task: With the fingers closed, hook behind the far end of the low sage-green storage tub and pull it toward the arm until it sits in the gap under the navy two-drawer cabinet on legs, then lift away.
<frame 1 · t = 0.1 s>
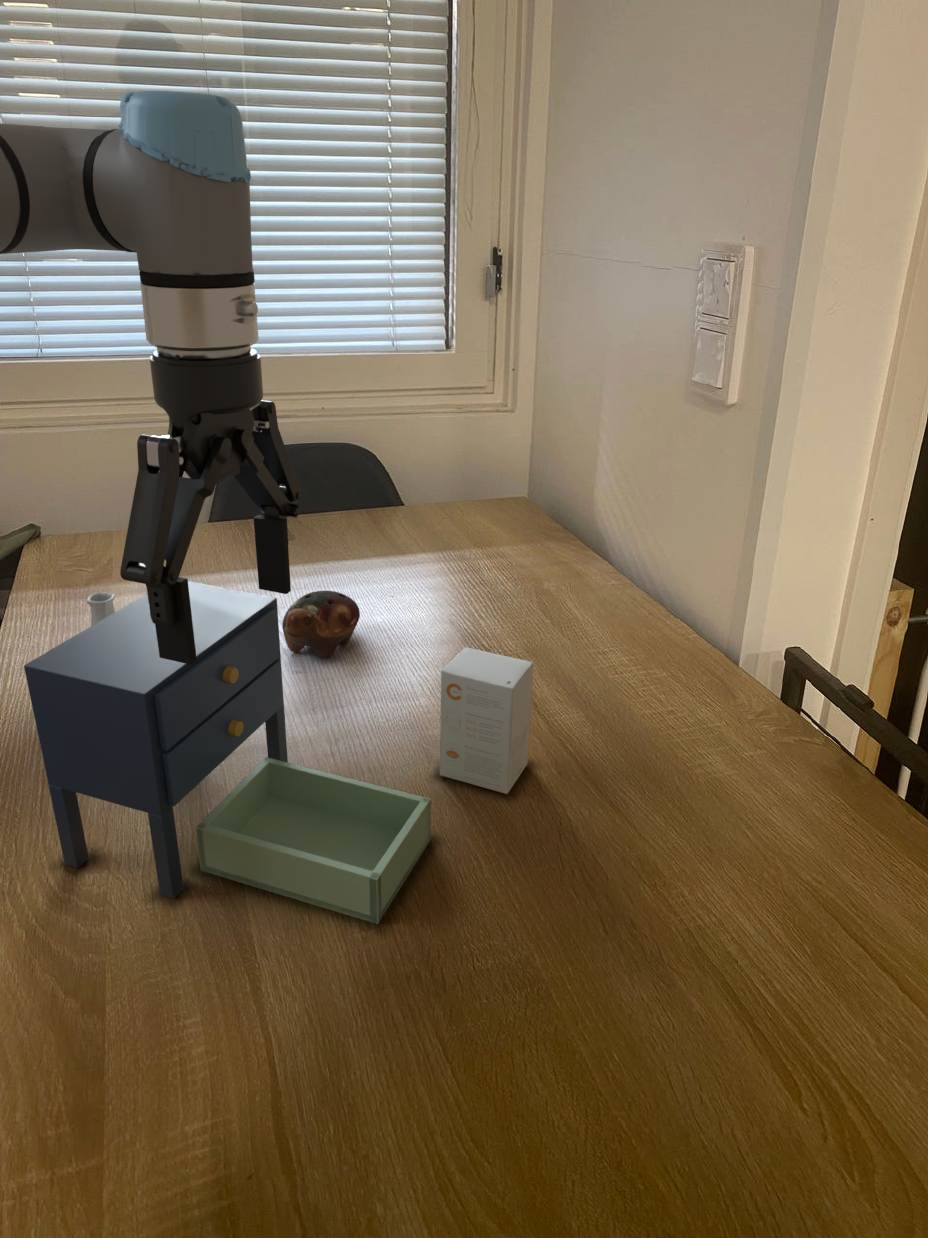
hand: (230, 622, 73), 26 cm above the table, tool pointing down, fingers open, 13 cm apart
storage tub: (318, 855, 86), on the table
brown ceramic figurine: (322, 647, 125), on the table
flask: (112, 668, 118), on the table
drawer cabinet: (185, 817, 91), on the table
small box: (483, 772, 99), on the table
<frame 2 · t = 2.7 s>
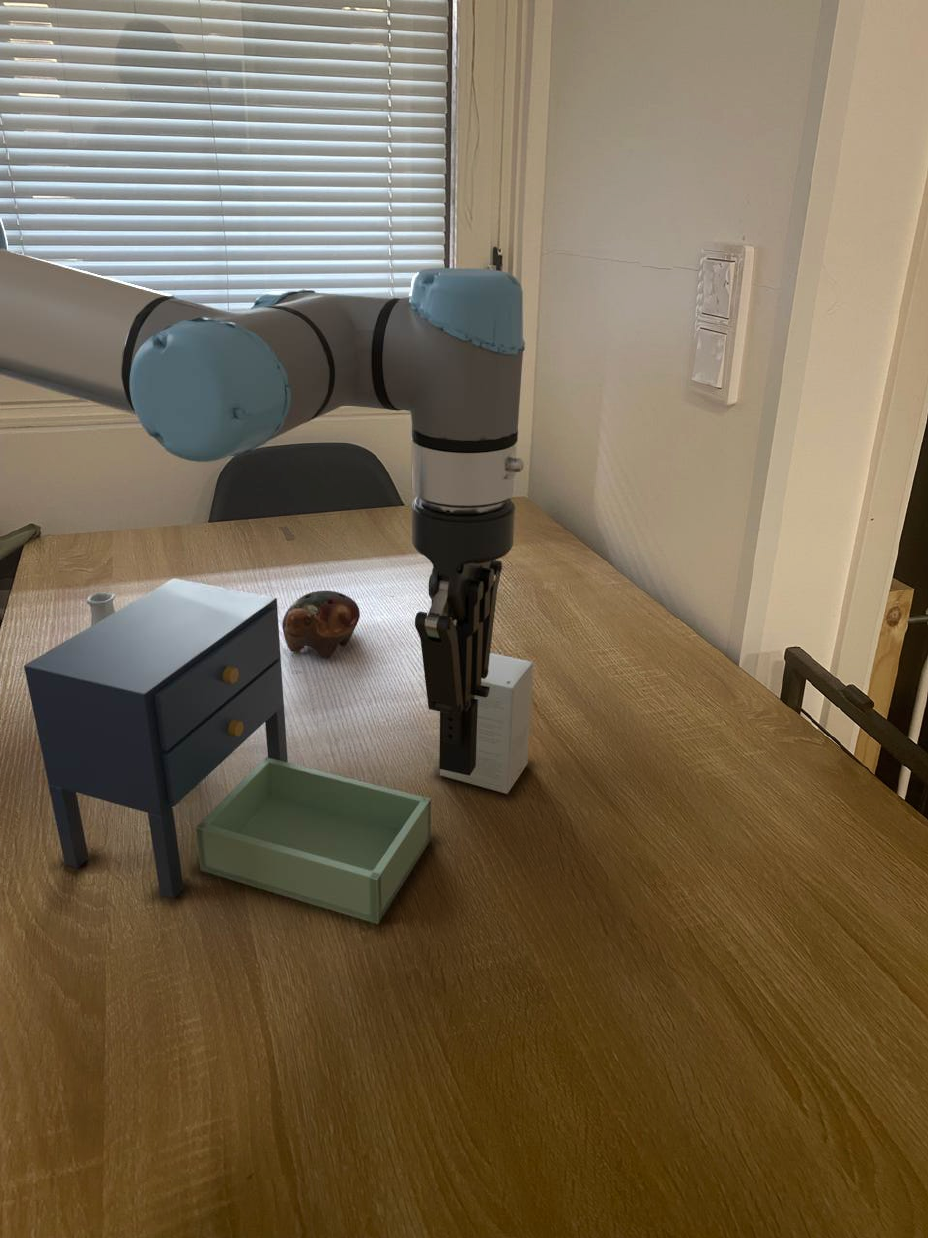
hand: (457, 767, 76), 14 cm above the table, tool pointing down, fingers closed
nothing on the table moved.
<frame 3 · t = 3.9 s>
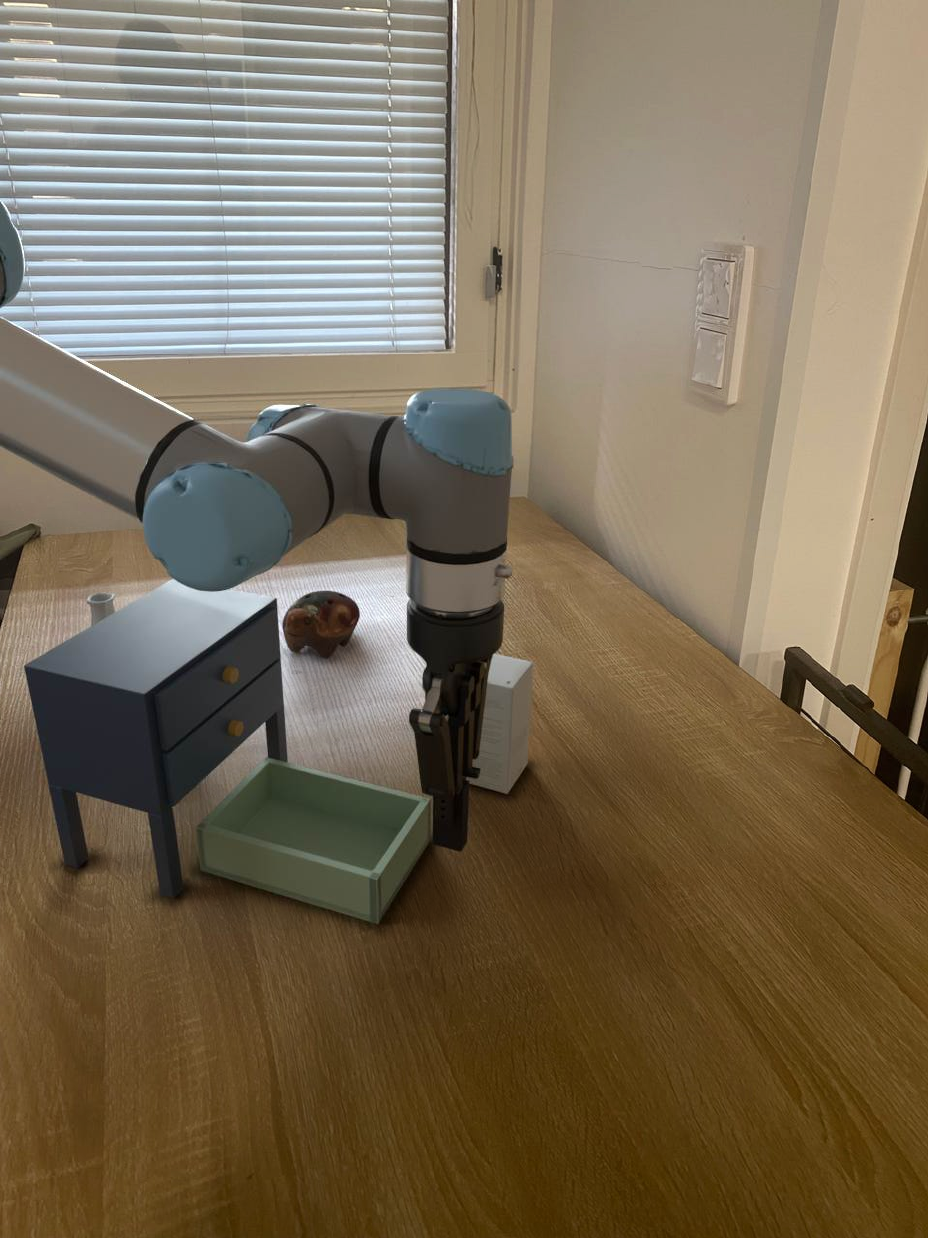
hand: (449, 842, 80), 6 cm above the table, tool pointing down, fingers closed
nothing on the table moved.
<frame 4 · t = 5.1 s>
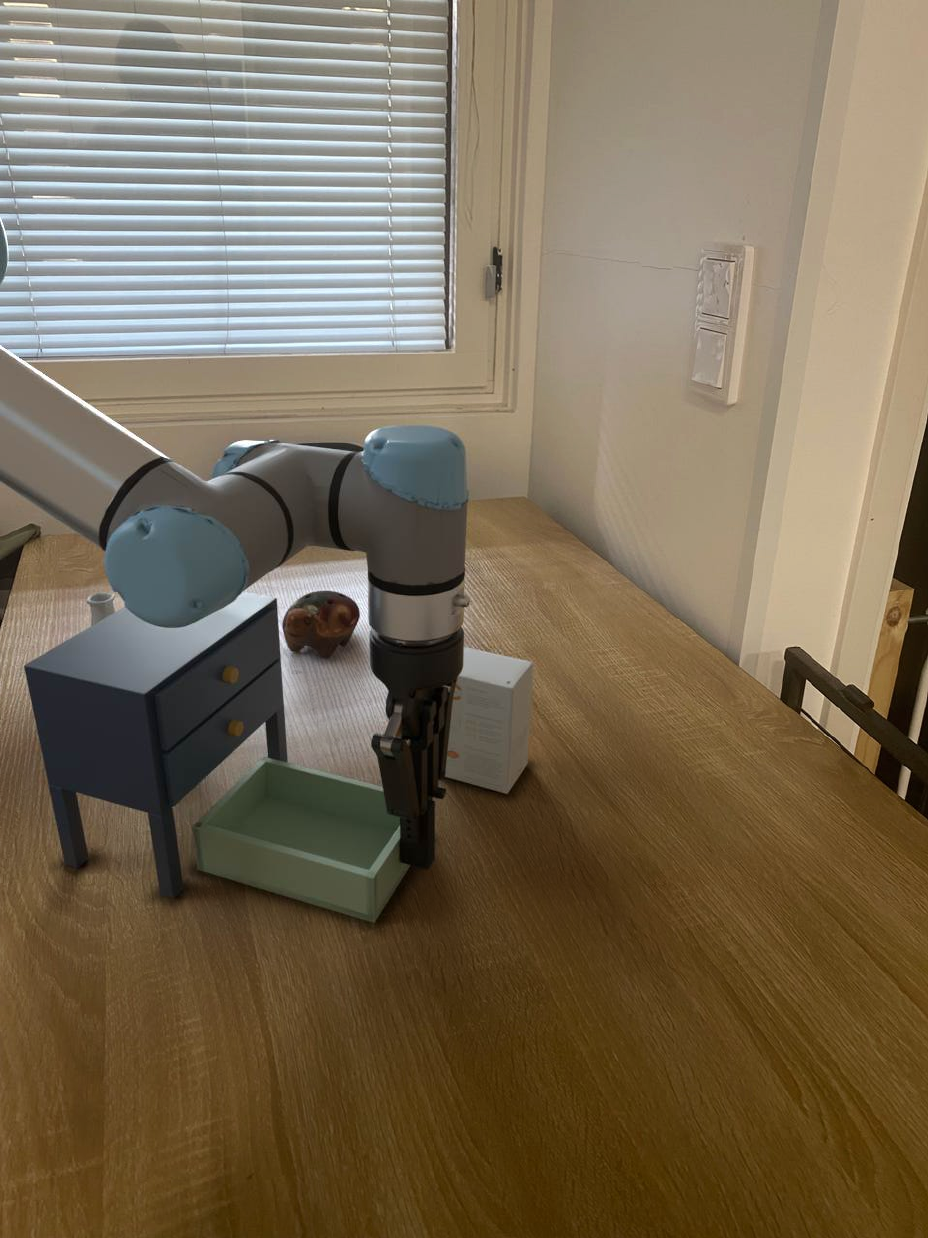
hand: (417, 860, 82), 3 cm above the table, tool pointing down, fingers closed
storage tub: (315, 854, 86), on the table, touching gripper
everything else where it was.
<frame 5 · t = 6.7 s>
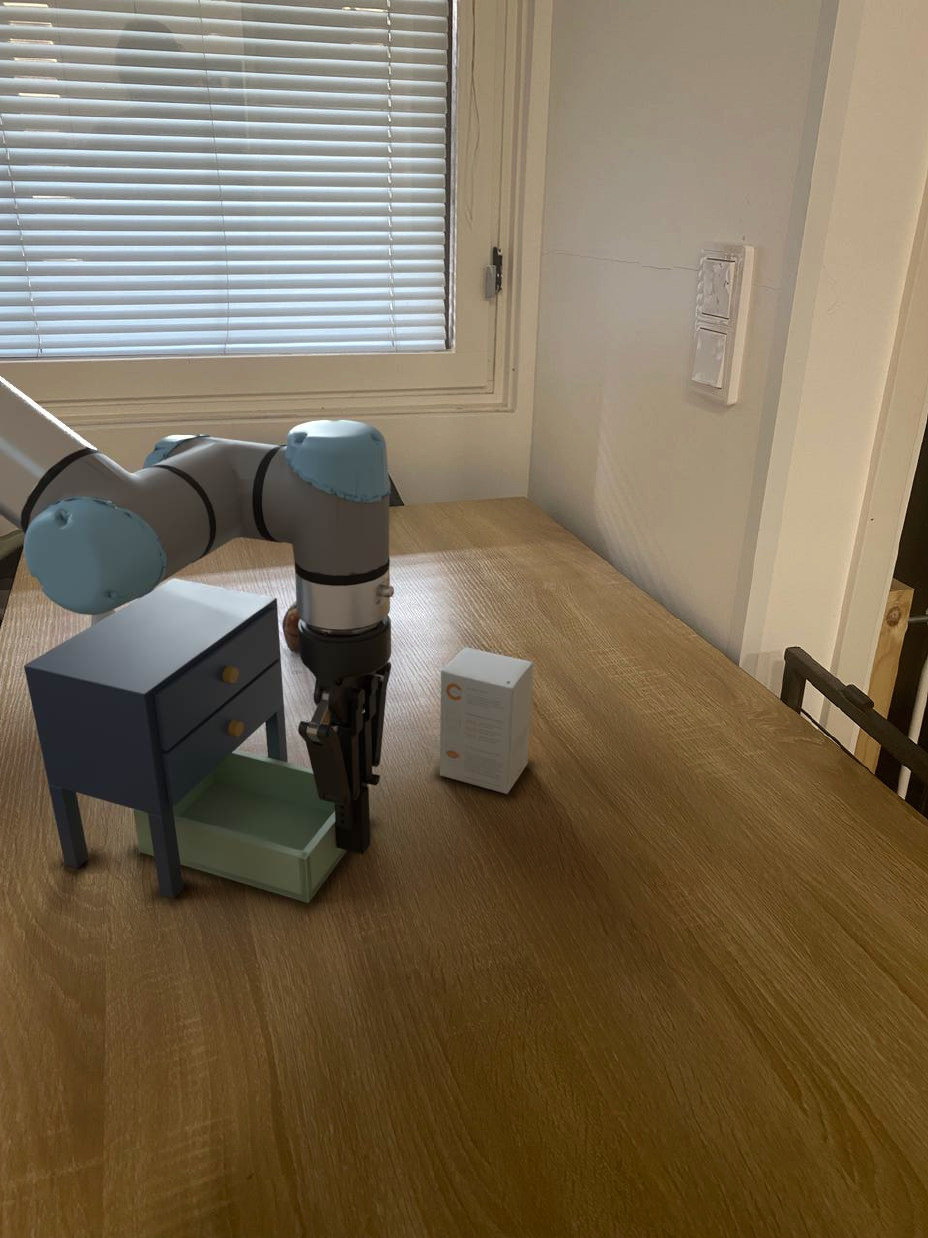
hand: (353, 846, 84), 2 cm above the table, tool pointing down, fingers closed
storage tub: (256, 837, 88), on the table, touching gripper
everything else where it was.
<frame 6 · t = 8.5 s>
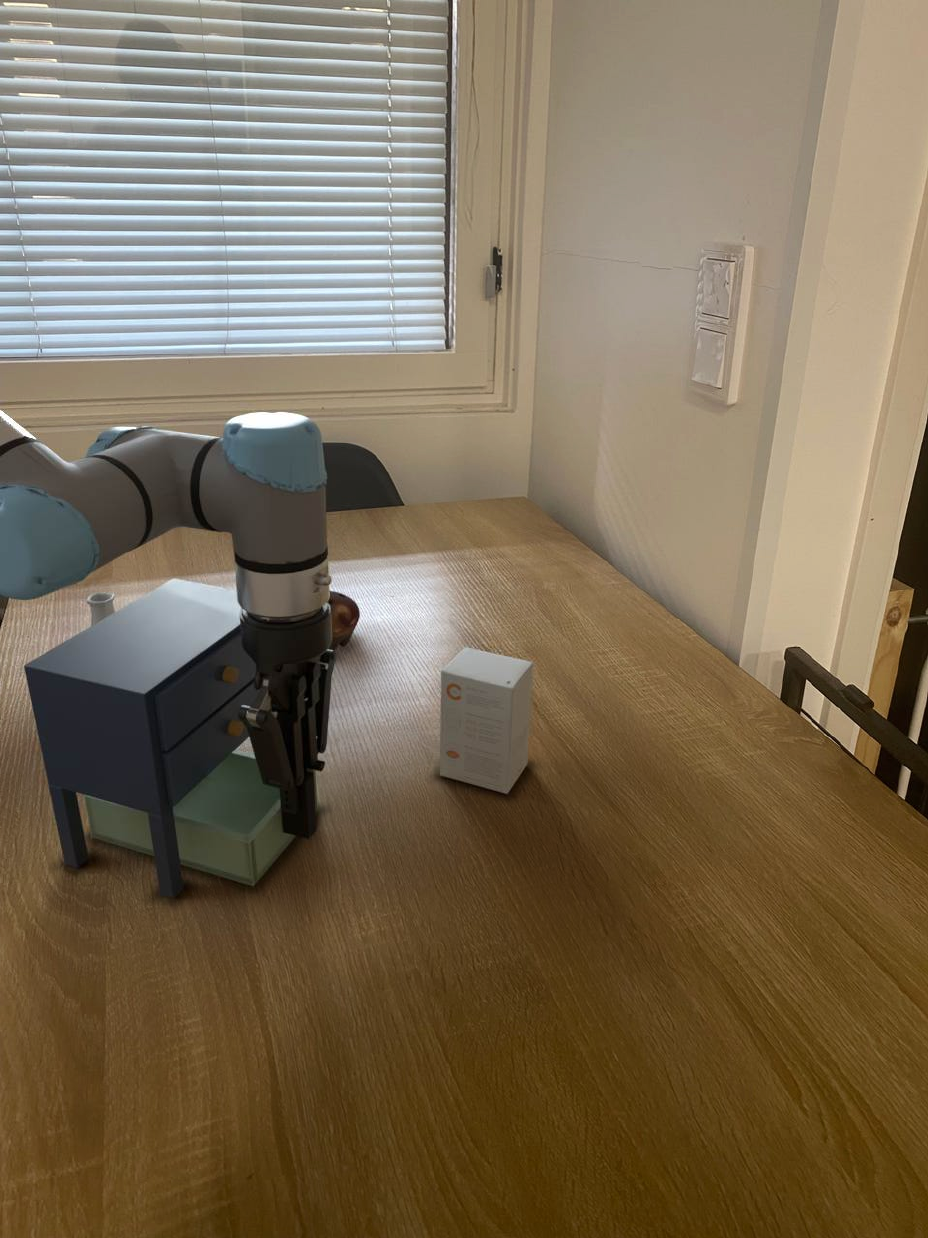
hand: (300, 831, 86), 2 cm above the table, tool pointing down, fingers closed
storage tub: (207, 823, 90), on the table, touching gripper
everything else where it was.
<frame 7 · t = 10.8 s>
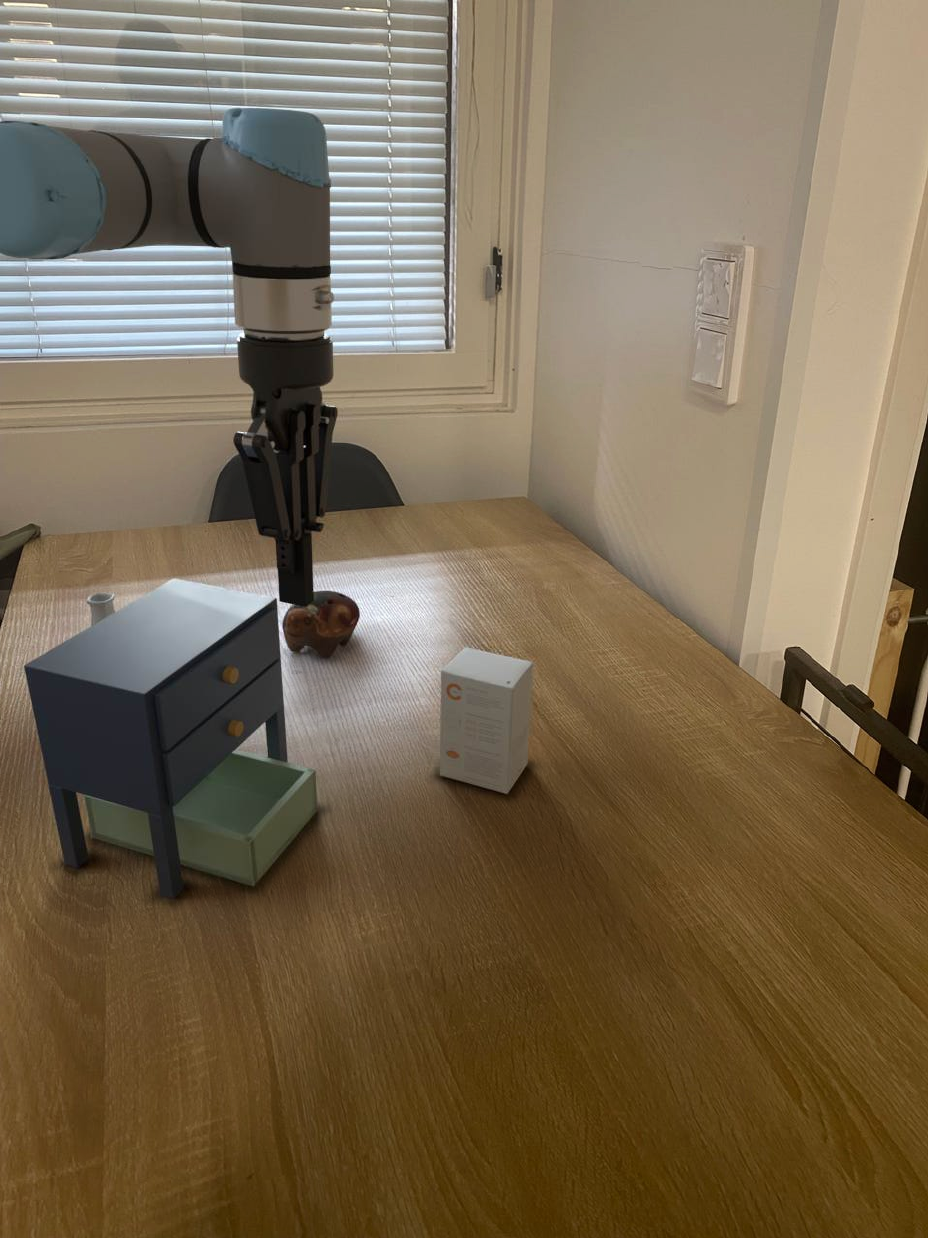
hand: (296, 600, 82), 23 cm above the table, tool pointing down, fingers closed
storage tub: (207, 823, 90), on the table
everything else where it was.
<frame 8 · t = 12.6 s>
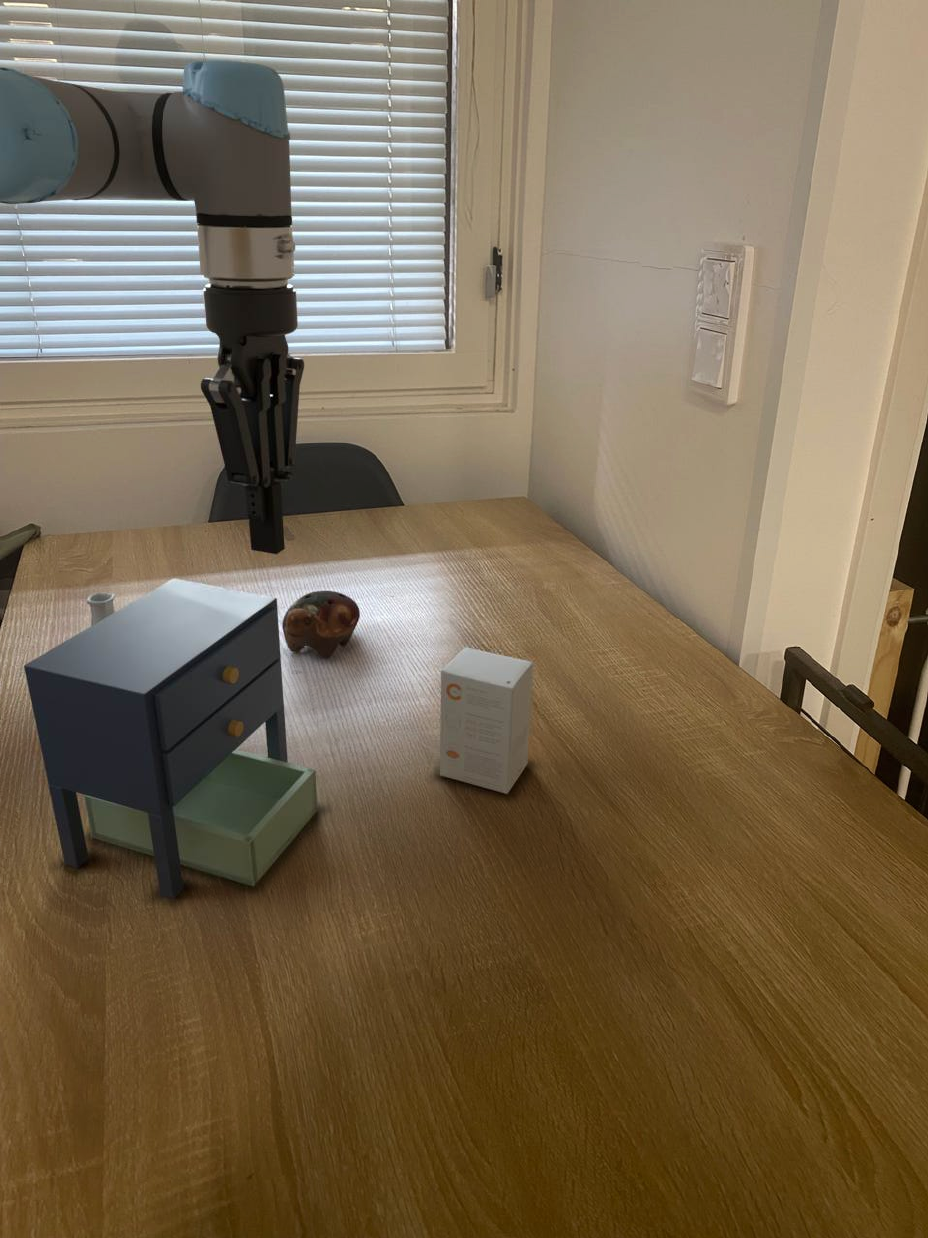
hand: (268, 549, 85), 26 cm above the table, tool pointing down, fingers closed
nothing on the table moved.
at the end: storage tub inside the target area (0.9 cm from its centre), on the table; storage tub moved 12.4 cm from its start; storage tub tilted 0° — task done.
